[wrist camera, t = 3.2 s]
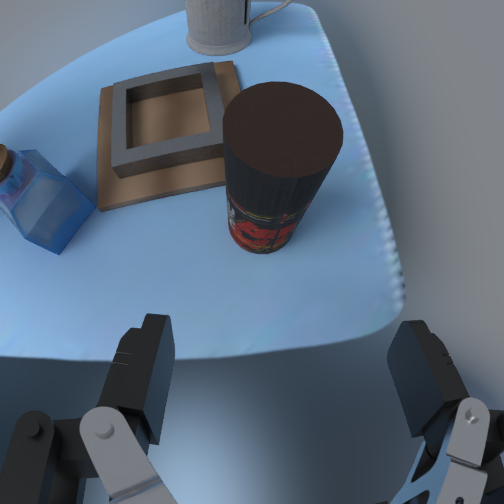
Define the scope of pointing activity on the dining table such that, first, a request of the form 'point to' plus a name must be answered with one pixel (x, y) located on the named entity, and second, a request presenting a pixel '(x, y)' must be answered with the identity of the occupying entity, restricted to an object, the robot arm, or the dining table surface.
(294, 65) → the dining table surface
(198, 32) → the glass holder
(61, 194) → the perfume bottle
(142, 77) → the locating plate
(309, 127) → the deodorant
